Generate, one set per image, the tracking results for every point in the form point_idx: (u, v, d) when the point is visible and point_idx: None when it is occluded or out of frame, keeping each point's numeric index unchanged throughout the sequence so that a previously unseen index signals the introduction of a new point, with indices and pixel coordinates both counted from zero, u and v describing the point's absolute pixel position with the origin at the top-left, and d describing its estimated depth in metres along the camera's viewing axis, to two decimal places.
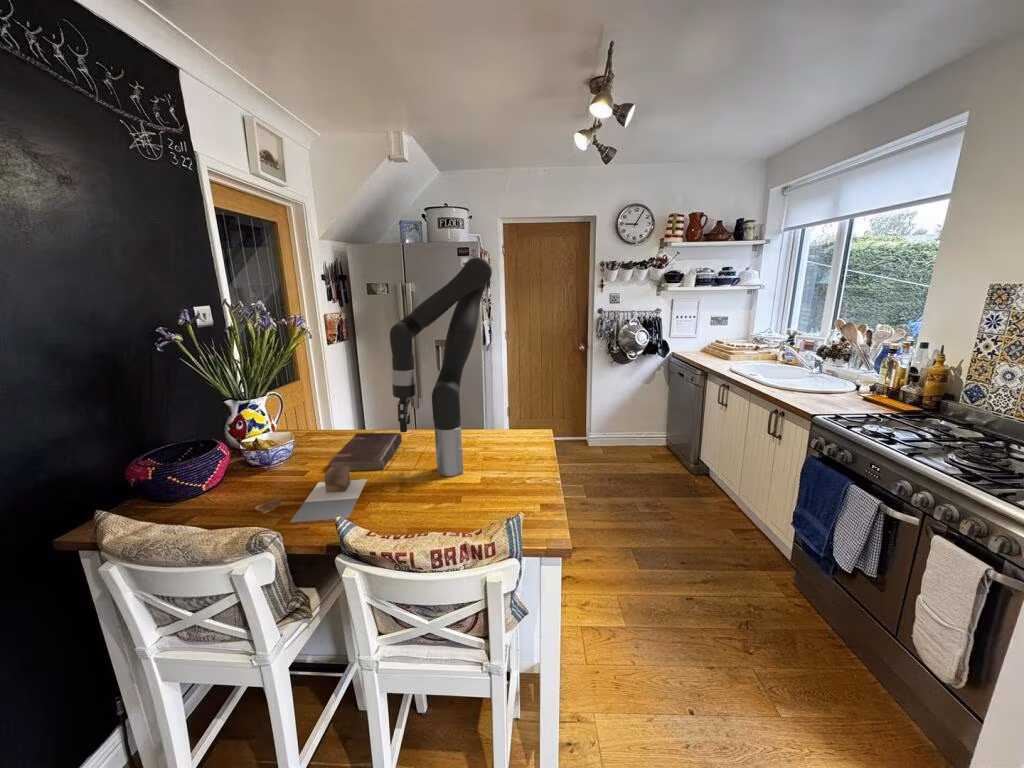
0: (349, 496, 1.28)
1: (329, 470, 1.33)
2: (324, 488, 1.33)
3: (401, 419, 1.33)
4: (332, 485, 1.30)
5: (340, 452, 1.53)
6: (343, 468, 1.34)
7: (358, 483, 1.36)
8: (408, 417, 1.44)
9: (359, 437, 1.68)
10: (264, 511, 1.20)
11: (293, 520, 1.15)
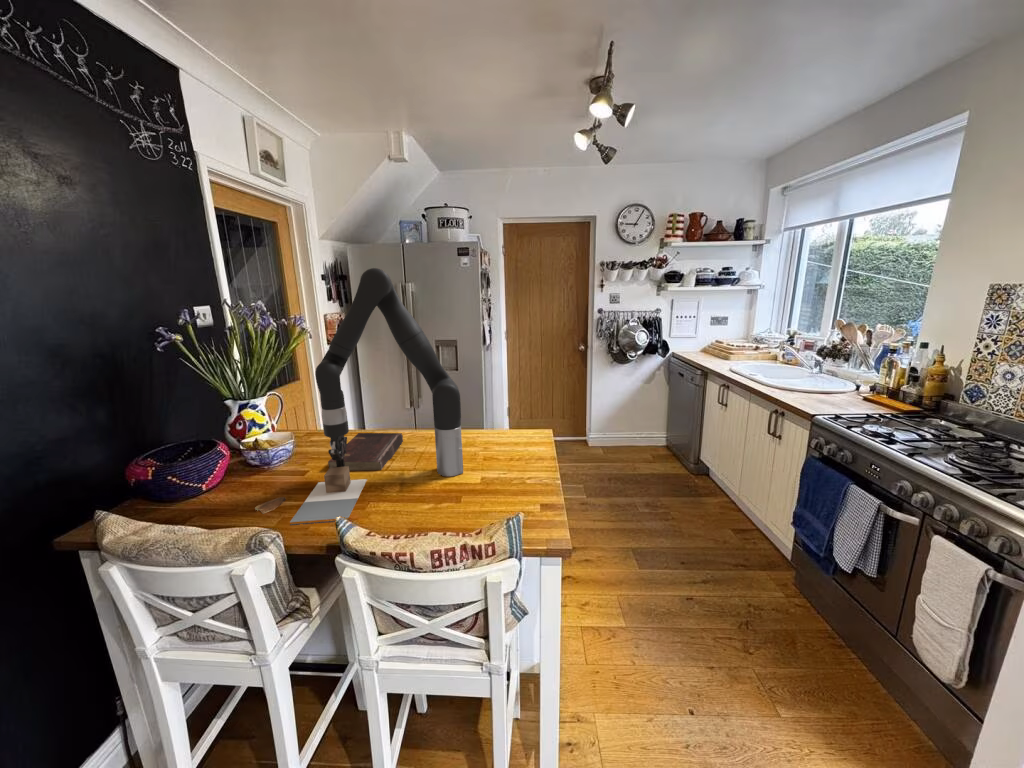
0: (349, 496, 1.28)
1: (329, 470, 1.33)
2: (324, 488, 1.33)
3: (336, 458, 1.33)
4: (332, 485, 1.30)
5: None
6: (343, 468, 1.34)
7: (358, 483, 1.36)
8: None
9: (360, 437, 1.68)
10: (264, 511, 1.20)
11: (293, 520, 1.15)
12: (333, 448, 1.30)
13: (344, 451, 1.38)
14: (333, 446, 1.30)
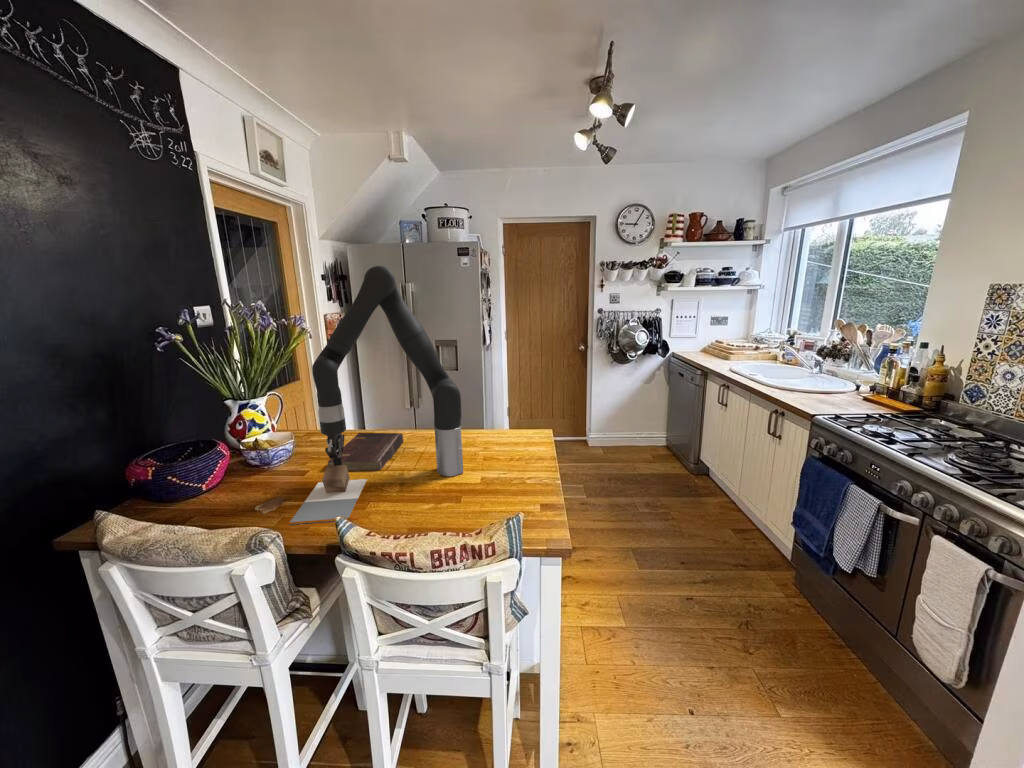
0: (349, 496, 1.28)
1: (326, 471, 1.30)
2: (324, 488, 1.33)
3: (333, 456, 1.30)
4: (331, 487, 1.29)
5: None
6: (340, 468, 1.31)
7: (358, 483, 1.36)
8: None
9: (360, 437, 1.68)
10: (264, 511, 1.20)
11: (293, 520, 1.15)
12: (330, 446, 1.27)
13: (341, 449, 1.35)
14: (330, 444, 1.27)
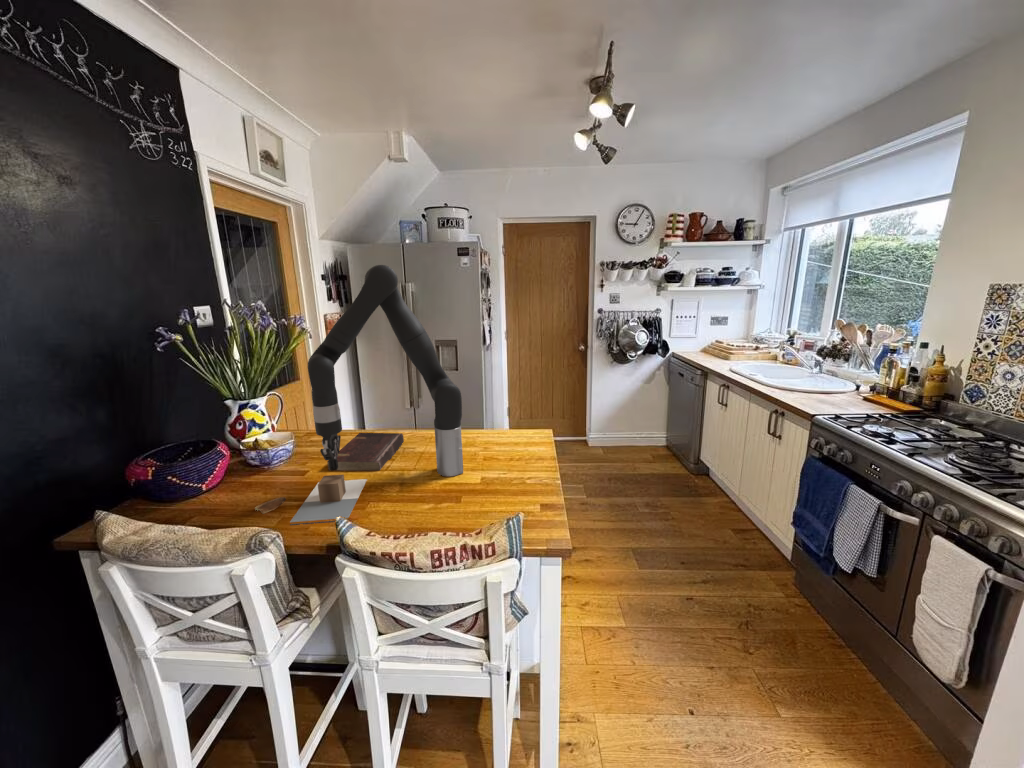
0: (349, 496, 1.28)
1: (320, 491, 1.24)
2: None
3: (328, 458, 1.26)
4: None
5: (340, 451, 1.54)
6: (334, 488, 1.24)
7: (358, 483, 1.36)
8: None
9: (361, 437, 1.68)
10: (264, 511, 1.20)
11: (293, 520, 1.15)
12: (325, 447, 1.23)
13: (337, 451, 1.31)
14: (325, 445, 1.23)
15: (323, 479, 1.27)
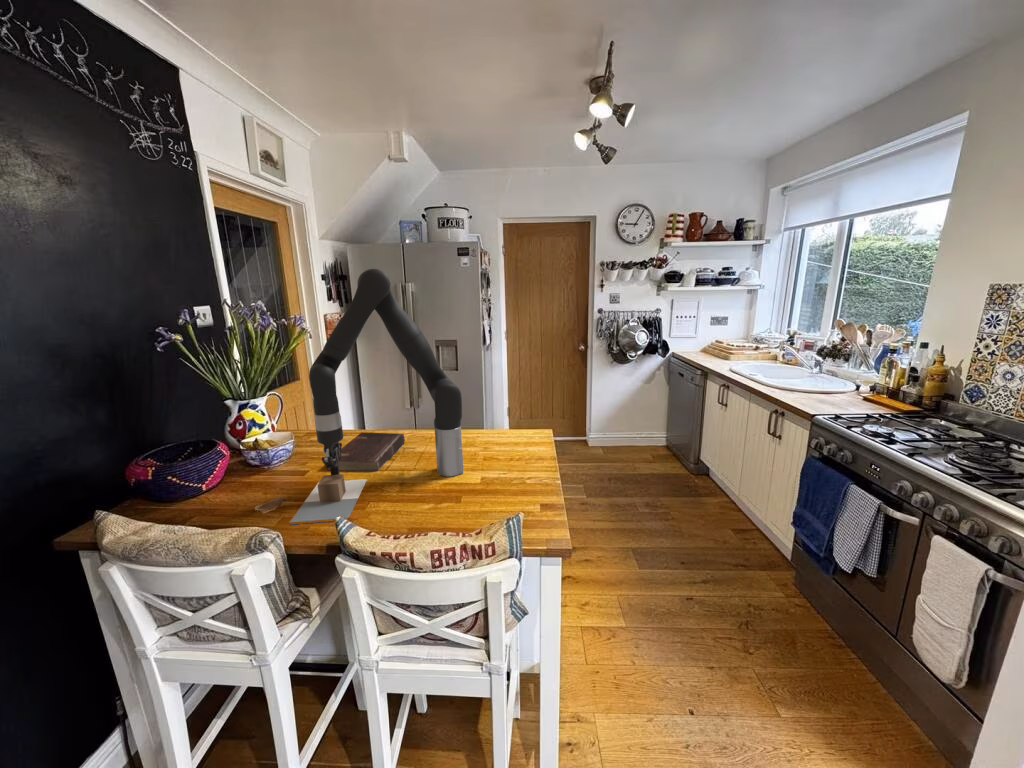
0: (349, 496, 1.28)
1: (320, 491, 1.24)
2: None
3: (329, 465, 1.27)
4: None
5: None
6: (334, 488, 1.24)
7: (358, 483, 1.36)
8: None
9: (362, 437, 1.69)
10: (264, 511, 1.20)
11: (293, 520, 1.15)
12: (327, 455, 1.24)
13: (338, 458, 1.32)
14: (327, 453, 1.24)
15: (323, 479, 1.26)
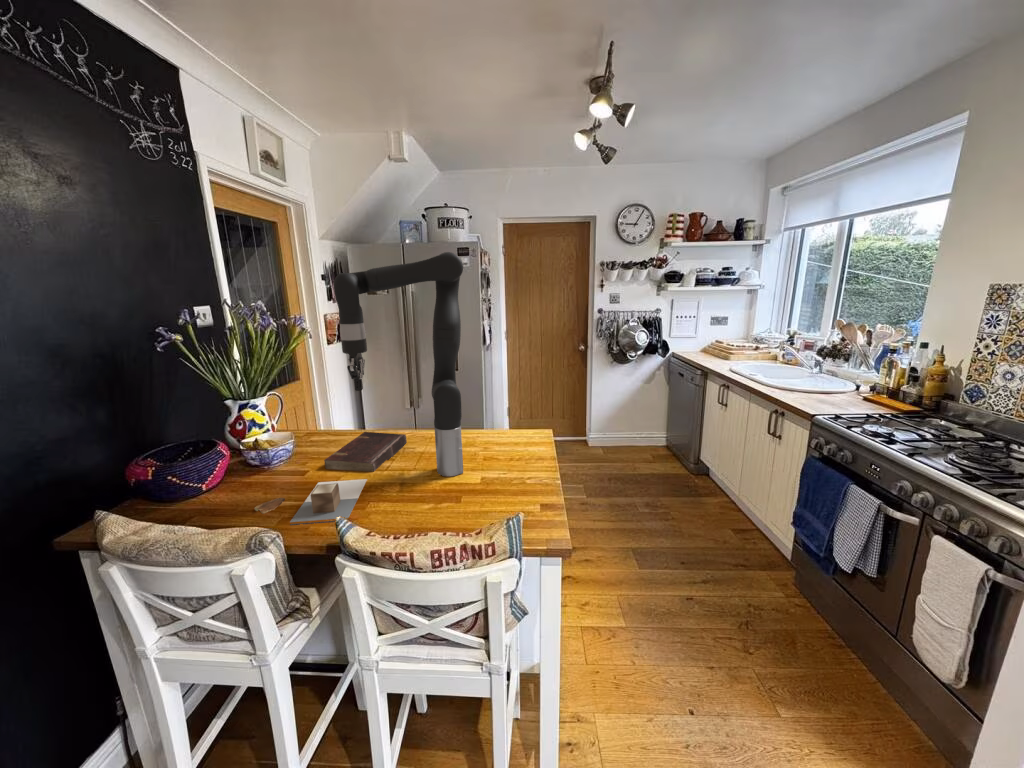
0: (349, 496, 1.28)
1: None
2: None
3: (354, 376, 1.30)
4: None
5: (339, 450, 1.55)
6: None
7: (358, 483, 1.36)
8: None
9: (364, 436, 1.69)
10: (264, 511, 1.20)
11: (293, 520, 1.15)
12: (352, 364, 1.27)
13: (362, 372, 1.35)
14: (352, 362, 1.27)
15: (314, 502, 1.18)
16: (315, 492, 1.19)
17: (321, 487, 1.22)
